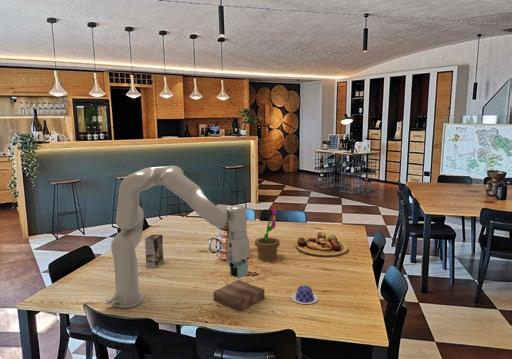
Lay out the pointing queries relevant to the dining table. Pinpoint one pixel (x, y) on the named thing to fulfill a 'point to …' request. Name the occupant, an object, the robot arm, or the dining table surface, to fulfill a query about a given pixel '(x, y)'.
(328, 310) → the dining table surface
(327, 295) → the dining table surface
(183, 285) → the dining table surface
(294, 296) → the pudding
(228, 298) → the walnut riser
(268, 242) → the flowerpot
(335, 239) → the wooden plate with food
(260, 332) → the dining table surface
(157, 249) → the coffee box
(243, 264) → the teal cube
